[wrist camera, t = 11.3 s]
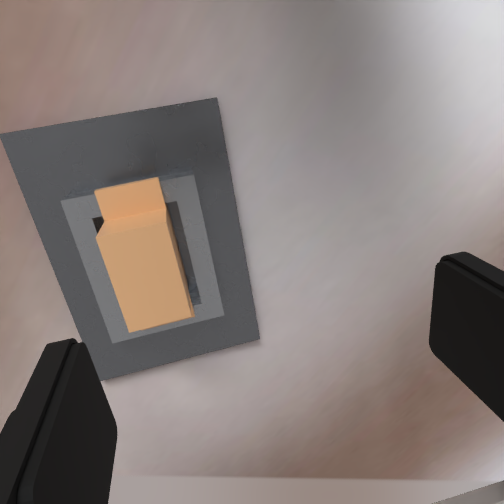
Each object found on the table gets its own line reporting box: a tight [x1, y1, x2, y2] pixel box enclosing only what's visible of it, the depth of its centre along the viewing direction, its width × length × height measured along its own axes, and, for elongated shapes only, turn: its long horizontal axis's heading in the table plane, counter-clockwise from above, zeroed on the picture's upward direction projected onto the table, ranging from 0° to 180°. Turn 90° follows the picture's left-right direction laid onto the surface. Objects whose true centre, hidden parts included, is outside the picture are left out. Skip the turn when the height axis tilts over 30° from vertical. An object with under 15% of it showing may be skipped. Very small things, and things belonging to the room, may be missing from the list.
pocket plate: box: [0, 98, 260, 381], centre depth 28 cm, size 20×14×3 cm
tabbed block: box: [94, 177, 195, 333], centre depth 25 cm, size 10×4×6 cm, turn 9°
